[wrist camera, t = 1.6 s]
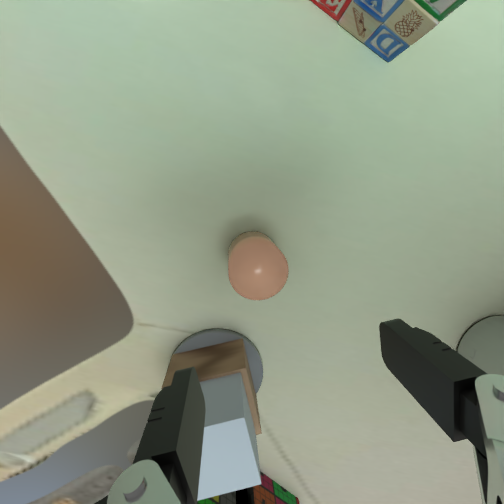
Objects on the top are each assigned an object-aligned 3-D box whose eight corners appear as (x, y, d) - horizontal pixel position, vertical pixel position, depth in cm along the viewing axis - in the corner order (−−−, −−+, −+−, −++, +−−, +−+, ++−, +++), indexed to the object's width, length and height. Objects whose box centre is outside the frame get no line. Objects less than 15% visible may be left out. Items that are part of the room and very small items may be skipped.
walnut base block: (242, 338, 29) (245, 367, 24) (256, 395, 31) (261, 433, 26) (172, 354, 29) (161, 387, 24) (190, 411, 31) (184, 452, 26)
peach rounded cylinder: (271, 226, 28) (283, 236, 22) (279, 272, 29) (292, 293, 23) (223, 236, 27) (222, 249, 22) (233, 282, 29) (235, 305, 23)
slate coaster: (252, 319, 30) (253, 323, 29) (269, 396, 33) (270, 402, 32) (157, 340, 29) (155, 346, 28) (182, 417, 32) (181, 424, 31)
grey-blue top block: (240, 372, 25) (244, 417, 20) (255, 429, 26) (261, 484, 21) (167, 389, 24) (152, 440, 19) (186, 446, 26) (177, 505, 21)
